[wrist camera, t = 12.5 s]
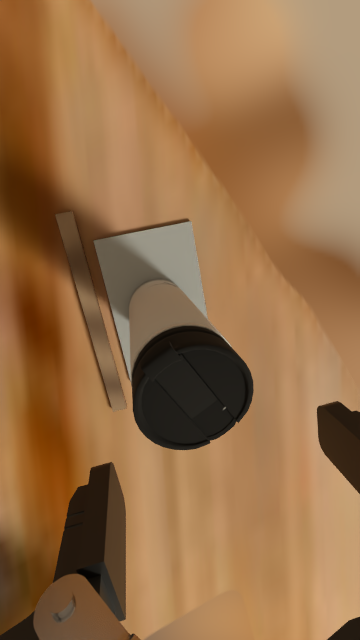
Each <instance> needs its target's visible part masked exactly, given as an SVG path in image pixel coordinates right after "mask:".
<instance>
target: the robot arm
mask: <svg viewBox="0 0 360 640" xmlns="http://www.w3.org/2000/svg"><path fill="white" fill-rule="evenodd" d="M317 420H318V437H319V443H320V446H321V448H322V450H323V452H324V454H325V455H326V456H327V457H328V458H329V460H330V461H331V462H332V463H333V464H334V465H335V466H336V468H337V469H338V470H339V471H340V472H341V473H342V474H343V476H344V477H345V478H346V479H347V480H348V481H349V482H350V483H351V485H352V486H353V487H354V488H355V489H356V490H357V491H358V493H359V494H360V412H358V411H353V412H351V411H350V410H349V409H348V408H347V407H345V406H344V405H343V404H342V403H340V402H338V401H336V402H332V403H329V404H325V405H321V406H318V408H317ZM64 528H65V531H64V532H63V537H62V542H61V546H60V551H59V556H58V561H57V566H56V571H55V576H54V580H53V584H52V585H50V587H49V588H48V589H47V590H46V591H45V592H44V594H43V595H42V597H41V598H40V600H39V602H38V604H37V606H36V609H35V611H34V612H33V613H32V614H31V615H30V616H28V617H27V618H26V619H24V620H23V621H22V622H20V623H19V624H17V625H16V626H14V627H13V628H11V629H10V630H8V631H7V632H5V633H4V634H2V635H1V636H0V640H140V639H139V638H138V637H137V636H136V635H135V634H132V635H130V634H129V633H128V632H127V631H126V629H125V628H124V627H123V625H122V624H121V623H120V622H119V621H122V620H125V619H126V511H125V502H124V497H123V493H122V490H121V486H120V483H119V480H118V477H117V474H116V470H115V467H114V465H113V463H112V462H110V463H106V464H103V465H99V466H95V467H92V468H91V470H90V477H89V483H88V485H84V486H81V487H78V488H77V490H76V492H75V493H74V495H73V497H72V498H71V500H70V502H69V507H68V512H67V518H66V522H65V527H64ZM327 640H360V617H358V618H355V619H352V620H349V621H348V622H347V623H346V624H344V625H343V626H342V627H341V628H340V629H339V630H338V631H336V632H335V633H334V634H333V635H332V636H331V637H330V638H328V639H327Z"/></svg>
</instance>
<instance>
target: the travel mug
mask: <svg viewBox="0 0 360 640" xmlns="http://www.w3.org/2000/svg"><path fill="white" fill-rule="evenodd" d="M129 328H130V364H131V385H132V397H133V413H134V417H135V421H136V423H137V425H138V427H139V429H140V430H141V432H142V433H143V434H144V435H145V436H146V437H147V438H148V439H150V440H151V441H152V442H154V443H155V444H158V445H160V446H162V447H165V448H169V449H174V450H190V449H197V448H199V447H202V446H205V445H207V444H210V440H214V439H217V438H218V437H220V436H222V435H223V434H225V433H226V432H227V431H229V430H230V429H231V428H232V427H233V426H234V425H235V423H236V421H237V422H238V423H239V421H240V420H241V419H242V418H243V416H244V415H245V414H246V413H247V411H248V409H249V407H250V404H251V401H252V396H253V379H252V376H251V372H250V370H249V368H248V367H247V365H246V363H245V362H244V361H243V360H242V359H241V357H240V356H239V355H238V354H237V353H236V352H235V351H234V350H233V349H232V347H231V345H230V344H229V342H228V341H227V340H226V339H225V338H224V337H223V336H222V335H221V334H220V332H219V331H218V330H217V329H216V328H215V327H214V326H213V325H212V323H211V322H210V321H209V320H208V319H207V318H206V317H205V316H204V315H203V313H202V312H201V311H200V310H199V309H198V308H197V307H196V306H195V304H194V303H193V302H192V301H191V300H190V299H189V298H188V297H187V296H186V294H185V293H184V292H183V291H182V290H181V289H180V288H179V287H178V286H177V285H176V284H174V283H173V282H171V281H168V280H164V279H153V280H149V281H146V282H144V283H143V284H141V285H140V286H139V287H138V288H137V289H136V290H135V291H134V293H133V294H132V296H131V299H130V303H129Z"/></svg>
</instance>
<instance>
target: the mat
mask: <svg viewBox="0 0 360 640" xmlns="http://www.w3.org/2000/svg"><path fill="white" fill-rule="evenodd" d="M94 245H95V249H96V253H97V256H98V260H99V264H100V268H101V271H102V275H103V279H104V283H105V287H106V290H107V294H108V298H109V302H110V305H111V309H112V313H113V317H114V321H115V324H116V328H117V332H118V336H119V339H120V343H121V347H122V351H123V355H124V358H125V362H126V366H127V370H128V373H129V377H130V381H131V364H130V328H129V303H130V299H131V296H132V294H133V293H134V291H135V290H136V289H137V288H138V287H139V286H140V285H141V284H143V283H144V282H146V281H149V280H153V279H164V280H168V281H171V282H173V283H174V284H176V285H177V286H178V287H179V288H180V289H181V290H182V291H183V292H184V293H185V294H186V296H187V297H188V298H189V299H190V300H191V301H192V302H193V303H194V304H195V306H196V307H197V308H198V309H199V310H200V311H201V312H202V313H203V315H204V316H205V317H206V318H207V312H206V306H205V300H204V294H203V288H202V282H201V276H200V270H199V264H198V258H197V252H196V246H195V240H194V234H193V228H192V222H191V221H189V222H184V223H179V224H174V225H169V226H164V227H159V228H154V229H149V230H144V231H139V232H134V233H129V234H124V235H119V236H114V237H109V238H104V239H99V240H94ZM207 319H208V318H207Z"/></svg>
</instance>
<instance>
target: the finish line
mask: <svg viewBox="0 0 360 640" xmlns="http://www.w3.org/2000/svg"><path fill="white" fill-rule="evenodd" d="M55 216H56V220H57V223H58V226H59V230H60V233H61V237H62V240H63V243H64V247H65V250H66V254H67V257H68V260H69V264H70V267H71V271H72V274H73V277H74V281H75V284H76V288H77V291H78V294H79V298H80V301H81V305H82V308H83V311H84V315H85V318H86V322H87V325H88V328H89V332H90V335H91V339H92V342H93V345H94V349H95V352H96V356H97V359H98V362H99V366H100V369H101V373H102V376H103V379H104V383H105V386H106V390H107V393H108V396H109V400H110V403H111V407H112V410H113V412H115V411H119V410H123V409H127V405H126V401H125V398H124V394H123V390H122V387H121V383H120V379H119V376H118V372H117V369H116V365H115V361H114V358H113V354H112V351H111V347H110V343H109V340H108V336H107V332H106V329H105V325H104V322H103V318H102V314H101V311H100V307H99V304H98V300H97V296H96V293H95V289H94V285H93V282H92V278H91V275H90V271H89V267H88V264H87V260H86V257H85V253H84V249H83V246H82V242H81V238H80V235H79V231H78V228H77V224H76V220H75V217H74V213H73V211H70V212H65V213H60V214H55Z"/></svg>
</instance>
